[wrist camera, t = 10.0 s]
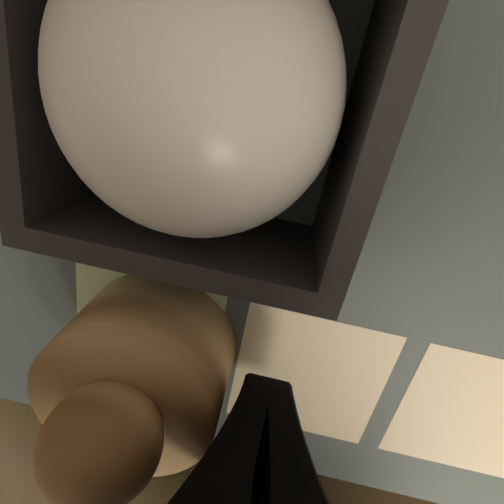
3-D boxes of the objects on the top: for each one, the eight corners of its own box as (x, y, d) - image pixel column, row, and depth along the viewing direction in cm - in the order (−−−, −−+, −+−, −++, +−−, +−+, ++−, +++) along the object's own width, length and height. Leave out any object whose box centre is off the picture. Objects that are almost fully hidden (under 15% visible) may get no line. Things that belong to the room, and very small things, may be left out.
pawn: (219, 410, 13) (171, 597, 8) (85, 373, 13) (-37, 536, 8) (251, 297, 11) (211, 461, 6) (91, 253, 11) (-69, 382, 6)
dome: (304, 212, 10) (305, 324, 5) (122, 173, 10) (-27, 249, 5) (362, -12, 8) (452, -151, 3) (129, -58, 8) (-110, -251, 3)
